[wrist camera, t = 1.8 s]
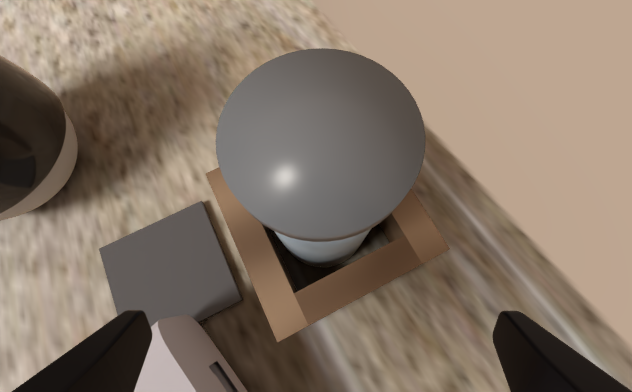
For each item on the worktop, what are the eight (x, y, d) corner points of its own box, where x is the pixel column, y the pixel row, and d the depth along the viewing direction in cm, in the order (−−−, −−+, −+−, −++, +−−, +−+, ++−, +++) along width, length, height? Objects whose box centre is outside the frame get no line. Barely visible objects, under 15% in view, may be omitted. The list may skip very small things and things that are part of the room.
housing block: (428, 257, 20) (450, 248, 17) (285, 334, 19) (277, 342, 15) (352, 132, 23) (356, 104, 20) (223, 193, 22) (205, 173, 18)
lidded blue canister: (387, 244, 20) (468, 173, 9) (300, 290, 20) (267, 276, 8) (341, 165, 22) (359, 21, 11) (260, 204, 21) (186, 95, 10)
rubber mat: (242, 299, 19) (241, 299, 19) (133, 356, 19) (129, 357, 18) (203, 202, 21) (201, 200, 21) (103, 249, 21) (99, 248, 20)
